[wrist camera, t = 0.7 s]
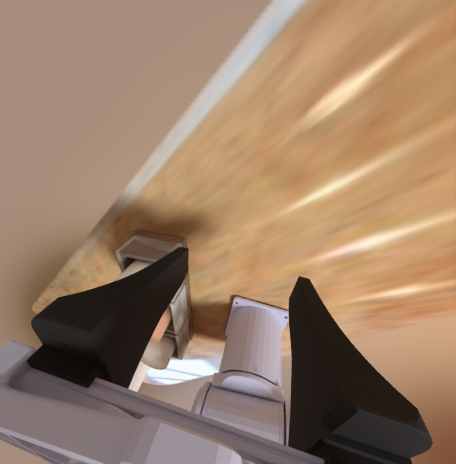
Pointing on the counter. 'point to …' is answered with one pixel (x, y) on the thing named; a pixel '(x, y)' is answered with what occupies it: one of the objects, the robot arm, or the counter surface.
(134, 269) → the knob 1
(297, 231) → the counter surface
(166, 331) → the mount
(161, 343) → the knob
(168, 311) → the middle knob
